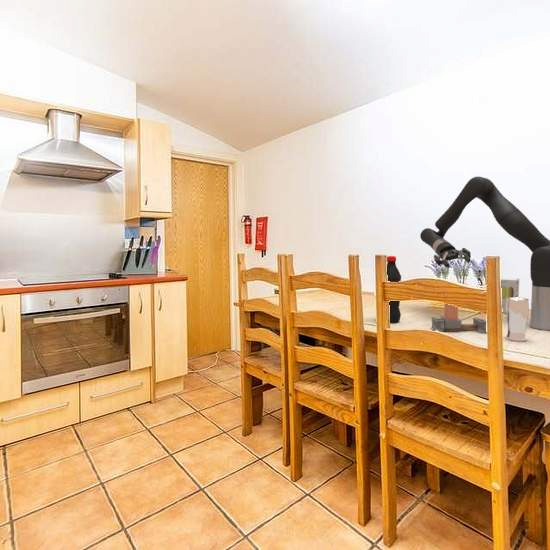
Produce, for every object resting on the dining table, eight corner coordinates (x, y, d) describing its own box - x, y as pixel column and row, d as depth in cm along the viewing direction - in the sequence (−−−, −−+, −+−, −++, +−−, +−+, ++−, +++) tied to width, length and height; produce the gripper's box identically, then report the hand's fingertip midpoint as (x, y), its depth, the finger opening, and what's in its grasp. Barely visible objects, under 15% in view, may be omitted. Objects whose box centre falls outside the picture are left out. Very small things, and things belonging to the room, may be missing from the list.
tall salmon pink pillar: (456, 324, 148) (457, 283, 146) (461, 328, 141) (462, 285, 140) (440, 324, 149) (441, 283, 147) (445, 328, 143) (446, 285, 141)
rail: (480, 328, 146) (481, 316, 146) (487, 333, 140) (488, 320, 139) (431, 327, 150) (431, 315, 149) (436, 332, 143) (436, 319, 143)
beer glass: (504, 340, 130) (505, 299, 128) (504, 335, 136) (506, 296, 134) (527, 342, 126) (529, 300, 125) (527, 338, 132) (529, 297, 130)
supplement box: (492, 312, 179) (493, 278, 178) (496, 309, 186) (497, 277, 184) (515, 314, 173) (516, 279, 171) (518, 311, 179) (519, 278, 178)
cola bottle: (377, 321, 164) (377, 256, 161) (387, 318, 169) (388, 255, 166) (394, 324, 157) (394, 256, 154) (404, 321, 163) (405, 255, 160)
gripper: (427, 246, 168) (441, 260, 153) (458, 237, 166) (475, 251, 151) (429, 259, 171) (442, 274, 156) (460, 252, 169) (476, 266, 154)
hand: (458, 263), depth 154 cm, fingers open, 8 cm apart
